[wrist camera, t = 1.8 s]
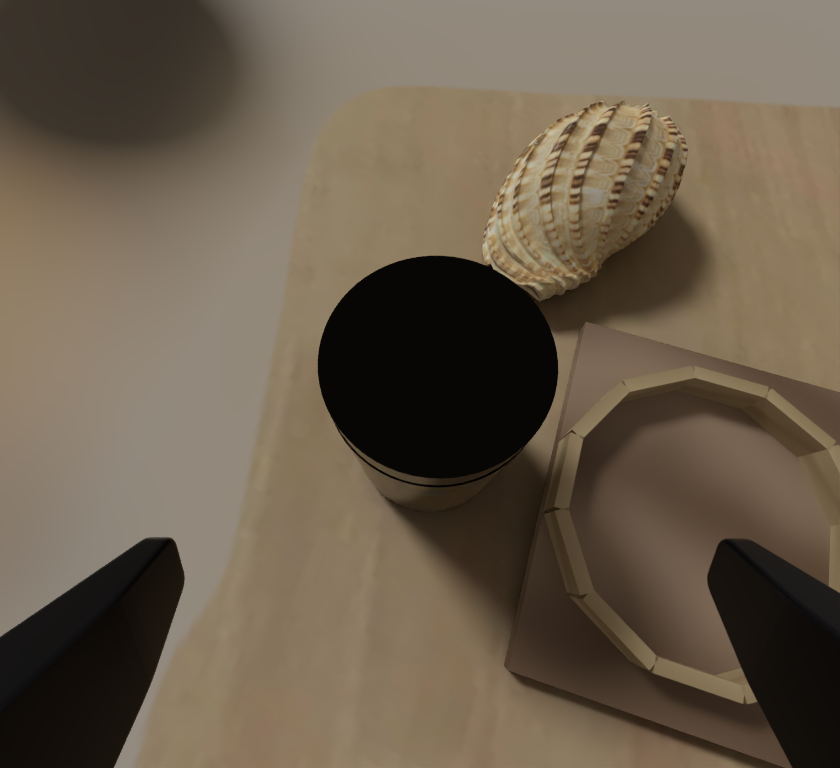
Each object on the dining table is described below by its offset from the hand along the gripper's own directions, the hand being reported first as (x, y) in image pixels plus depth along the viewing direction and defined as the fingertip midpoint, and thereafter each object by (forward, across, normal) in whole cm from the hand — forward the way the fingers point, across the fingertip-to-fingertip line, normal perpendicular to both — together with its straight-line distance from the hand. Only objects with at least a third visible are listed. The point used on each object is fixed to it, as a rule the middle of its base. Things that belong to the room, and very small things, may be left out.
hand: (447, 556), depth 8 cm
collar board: (+9, -10, +7) cm, 15 cm away
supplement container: (+11, 0, +5) cm, 12 cm away
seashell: (+19, -7, -2) cm, 20 cm away
